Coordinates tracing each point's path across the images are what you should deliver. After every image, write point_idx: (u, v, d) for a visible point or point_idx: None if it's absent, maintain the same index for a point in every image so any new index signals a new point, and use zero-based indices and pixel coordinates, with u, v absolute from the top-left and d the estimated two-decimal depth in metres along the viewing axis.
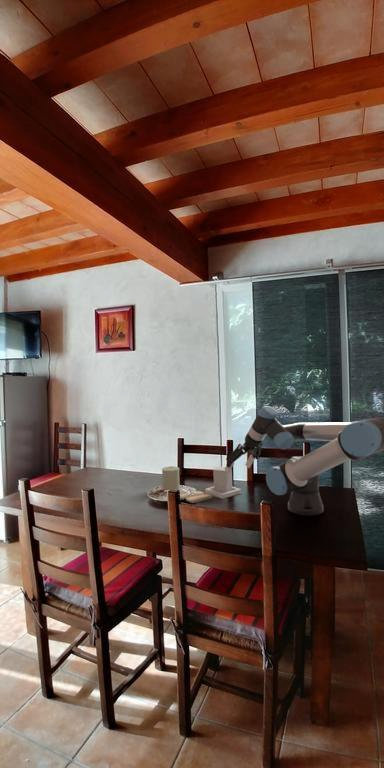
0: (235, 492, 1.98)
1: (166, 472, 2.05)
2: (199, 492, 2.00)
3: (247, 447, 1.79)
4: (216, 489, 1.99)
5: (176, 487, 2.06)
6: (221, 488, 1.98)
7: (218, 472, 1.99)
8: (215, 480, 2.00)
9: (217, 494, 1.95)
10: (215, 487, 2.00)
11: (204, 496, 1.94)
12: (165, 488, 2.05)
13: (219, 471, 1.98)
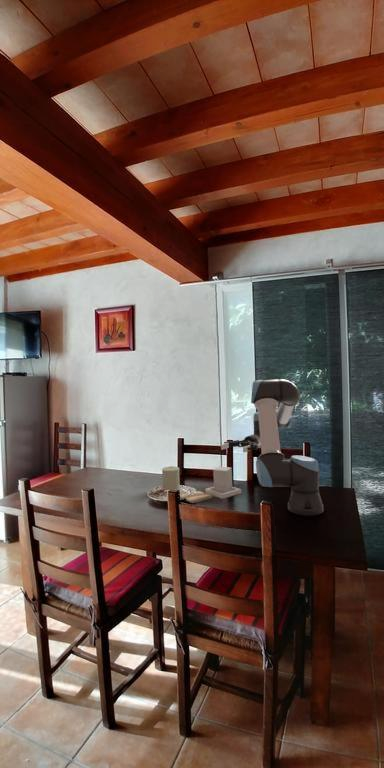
0: (235, 492, 1.98)
1: (166, 472, 2.05)
2: (199, 492, 2.00)
3: None
4: (216, 489, 1.99)
5: (176, 487, 2.06)
6: (221, 488, 1.98)
7: (218, 472, 1.99)
8: (215, 480, 2.00)
9: (217, 494, 1.95)
10: (215, 487, 2.00)
11: (204, 496, 1.94)
12: (165, 488, 2.05)
13: (219, 471, 1.98)
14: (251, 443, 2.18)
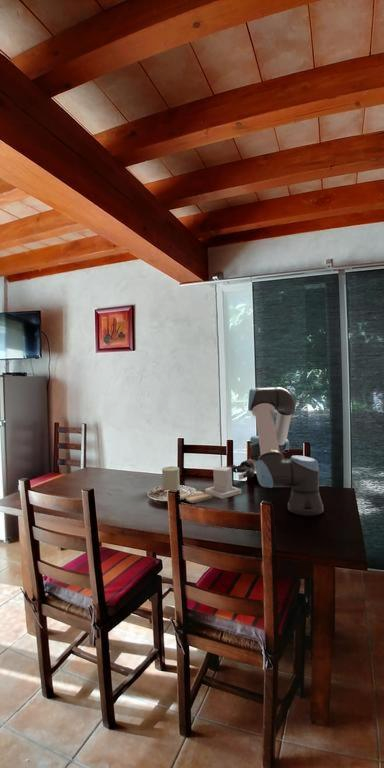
0: (235, 492, 1.98)
1: (166, 472, 2.05)
2: (199, 492, 2.00)
3: (239, 466, 2.20)
4: (216, 489, 1.99)
5: (176, 487, 2.06)
6: (221, 488, 1.98)
7: (218, 472, 1.99)
8: (215, 480, 2.00)
9: (217, 494, 1.95)
10: (215, 487, 2.00)
11: (204, 496, 1.94)
12: (165, 488, 2.05)
13: (219, 471, 1.98)
14: (247, 469, 2.15)
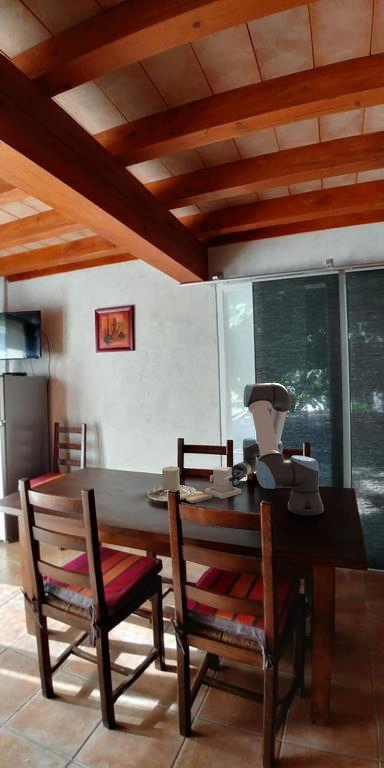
0: (235, 492, 1.98)
1: (166, 472, 2.05)
2: (199, 492, 2.00)
3: None
4: (216, 489, 1.99)
5: (176, 487, 2.06)
6: (221, 488, 1.98)
7: (218, 472, 1.99)
8: (215, 480, 2.00)
9: (217, 494, 1.95)
10: (215, 487, 2.00)
11: (204, 496, 1.94)
12: (165, 488, 2.05)
13: (219, 471, 1.98)
14: (239, 472, 2.08)
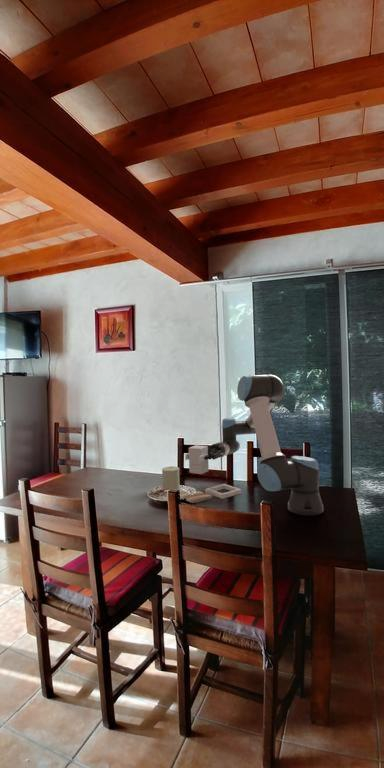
0: (235, 492, 1.98)
1: (166, 472, 2.05)
2: (199, 492, 2.00)
3: None
4: (191, 468, 1.95)
5: (176, 487, 2.06)
6: (196, 467, 1.94)
7: (193, 450, 1.94)
8: (190, 458, 1.95)
9: (217, 494, 1.95)
10: (190, 466, 1.96)
11: (204, 496, 1.94)
12: (165, 488, 2.05)
13: (194, 449, 1.94)
14: (216, 451, 2.03)
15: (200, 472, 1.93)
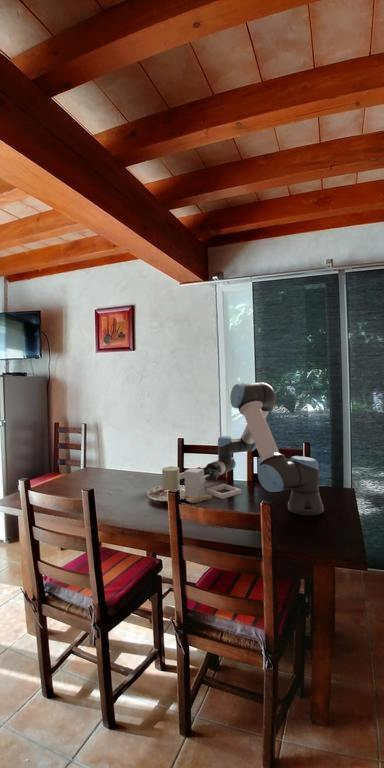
0: (235, 492, 1.98)
1: (166, 472, 2.05)
2: None
3: None
4: (187, 491, 1.94)
5: (176, 487, 2.06)
6: (192, 490, 1.92)
7: (189, 474, 1.93)
8: (186, 482, 1.94)
9: (217, 494, 1.95)
10: (186, 490, 1.94)
11: (204, 496, 1.94)
12: (165, 488, 2.05)
13: (190, 473, 1.93)
14: (212, 471, 2.02)
15: (196, 496, 1.91)
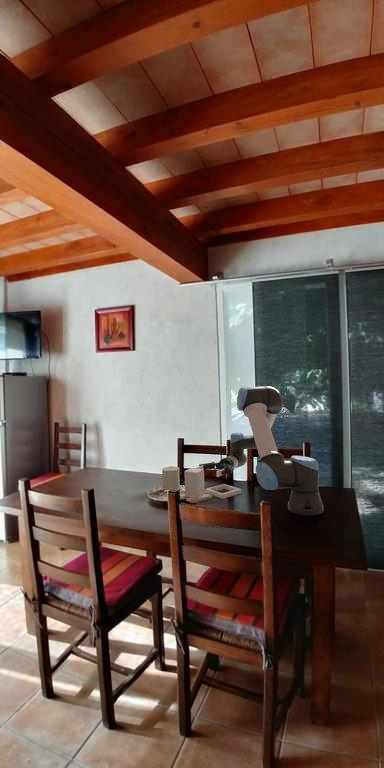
0: (235, 492, 1.98)
1: (166, 472, 2.05)
2: None
3: (218, 463, 2.17)
4: (187, 491, 1.94)
5: (176, 487, 2.06)
6: (192, 490, 1.92)
7: (189, 474, 1.93)
8: (186, 482, 1.94)
9: (217, 494, 1.95)
10: (186, 490, 1.94)
11: (204, 496, 1.94)
12: (165, 488, 2.05)
13: (190, 473, 1.93)
14: (226, 466, 2.12)
15: (196, 496, 1.91)
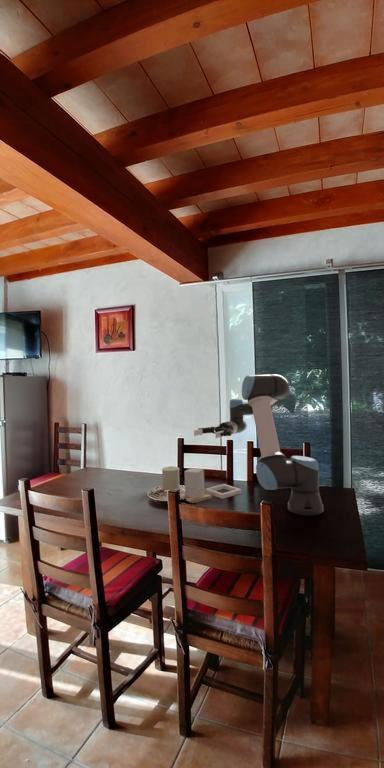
0: (235, 492, 1.98)
1: (166, 472, 2.05)
2: None
3: None
4: (187, 491, 1.94)
5: (176, 487, 2.06)
6: (192, 490, 1.92)
7: (189, 474, 1.93)
8: (186, 482, 1.94)
9: (217, 494, 1.95)
10: (186, 490, 1.94)
11: (204, 496, 1.94)
12: (165, 488, 2.05)
13: (190, 473, 1.93)
14: (225, 429, 2.11)
15: (196, 496, 1.91)
